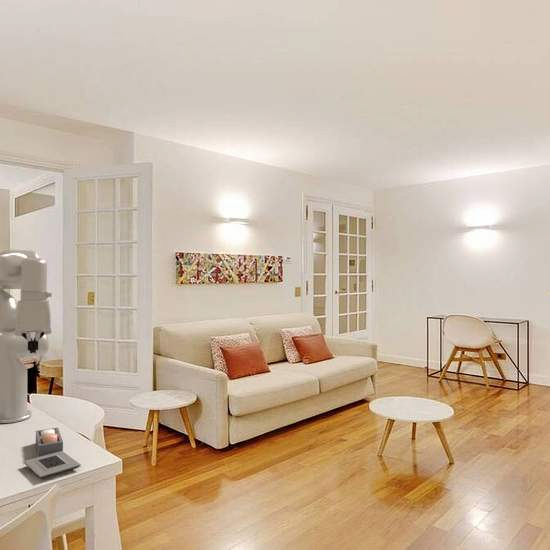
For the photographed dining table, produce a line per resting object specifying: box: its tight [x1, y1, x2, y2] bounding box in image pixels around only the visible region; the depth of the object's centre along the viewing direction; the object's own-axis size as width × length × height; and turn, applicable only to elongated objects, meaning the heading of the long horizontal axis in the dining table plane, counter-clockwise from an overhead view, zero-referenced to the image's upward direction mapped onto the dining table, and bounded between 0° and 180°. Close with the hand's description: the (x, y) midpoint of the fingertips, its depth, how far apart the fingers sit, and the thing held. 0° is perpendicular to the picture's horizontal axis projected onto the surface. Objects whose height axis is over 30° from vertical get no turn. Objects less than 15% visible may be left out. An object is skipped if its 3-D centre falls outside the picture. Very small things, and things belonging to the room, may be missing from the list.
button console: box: [35, 427, 64, 457], centre depth 141 cm, size 14×6×4 cm, turn 31°
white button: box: [41, 428, 55, 436], centre depth 144 cm, size 4×4×4 cm
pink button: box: [43, 433, 57, 444], centre depth 138 cm, size 4×4×4 cm
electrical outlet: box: [23, 450, 81, 479], centre depth 127 cm, size 13×10×2 cm
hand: (32, 352), depth 149 cm, fingers closed
